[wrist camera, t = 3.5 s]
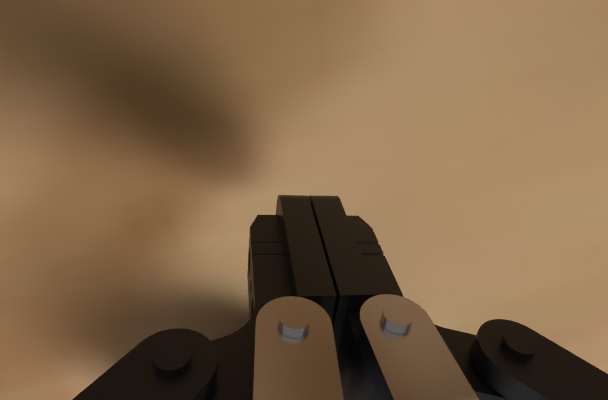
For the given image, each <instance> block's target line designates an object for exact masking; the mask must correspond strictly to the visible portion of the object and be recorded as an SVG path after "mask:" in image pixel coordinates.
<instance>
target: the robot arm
mask: <svg viewBox="0 0 608 400" xmlns="http://www.w3.org/2000/svg"><path fill="white" fill-rule="evenodd" d="M248 295H249V315H250V320H249V321H248V323H247V324H246V325H245V326H244V327H242V328H241V329H240V330H238V331H236V332H235V333H233V334H231V335H228V336H225V337H222V338H219V339H216V340H213V341H210V340H209V339H208V338H207V337H205V336H204V335H202V334H200V333H198V332H196V331H193V330H189V329H168V330H164V331H160V332H158V333H155V334H153V335H151V336H149V337H148V338H146V339H145V340H143V341H142V342H141V343H139V344H138V345H137V346H136V347H135V348H133V349H132V350H131V351H130V352H129V353H127V354H126V355H125V356H124V357H123V358H122V359H120V360H119V361H118V362H117V363H116V364H114V365H113V366H112V367H111V368H110V369H108V370H107V371H106V372H105V373H104V374H102V375H101V376H100V377H99V378H98V379H96V380H95V381H94V382H93V383H92V384H90V385H89V386H88V387H87V388H86V389H84V390H83V391H82V392H81V393H80V394H78V395H77V396H76V397H75V398H74V399H73V400H608V374H607V373H605V372H603V371H602V370H600V369H598V368H596V367H595V366H593V365H591V364H590V363H588V362H586V361H585V360H583V359H581V358H579V357H578V356H576V355H574V354H573V353H571V352H569V351H568V350H566V349H564V348H562V347H561V346H559V345H557V344H556V343H554V342H552V341H550V340H549V339H547V338H545V337H544V336H542V335H540V334H539V333H537V332H535V331H533V330H532V329H530V328H528V327H526V326H524V325H522V324H519V323H517V322H514V321H510V320H504V319H495V320H490V321H487V322H485V323H484V324H483V325H482V326H481V327H480V329H479V331H478V333H477V335H473V334H468V333H464V332H460V331H455V330H451V329H446V328H443V327H439V326H437V325H434V323H433V322H432V320H431V318H430V317H429V315H428V314H427V313H426V312H425V310H424V309H423V308H421V307H420V306H419V305H418V304H416V303H415V302H413V301H411V300H409V299H407V298H404V297H403V295H402V292H401V290H400V288H399V286H398V284H397V281H396V279H395V277H394V275H393V273H392V271H391V268H390V266H389V264H388V262H387V260H386V258H385V256H383V251H382V249H381V247H380V245H379V244H378V240H377V238H376V236H375V234H374V232H373V229H372V228H371V227H370V226H369V225H368V224H367V223H366V222H365V221H364V220H362V219H361V218H360V217H359V216H346V214H345V211H344V208H343V206H342V203H341V201H340V198H339V197H338V196H309V197H308V196H295V195H279V196H278V199H277V207H276V215H257V217H256V219H255V220H254V222H253V223H252V225H251V227H250V238H249V256H248Z"/></svg>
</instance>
